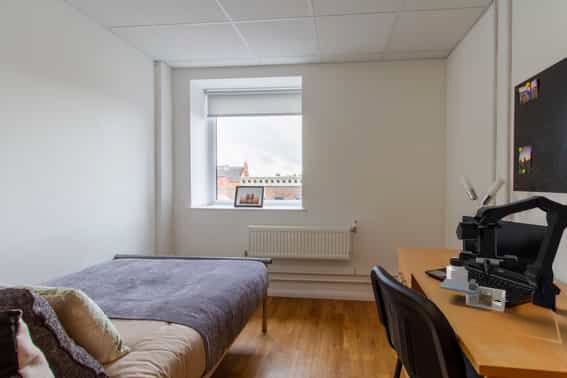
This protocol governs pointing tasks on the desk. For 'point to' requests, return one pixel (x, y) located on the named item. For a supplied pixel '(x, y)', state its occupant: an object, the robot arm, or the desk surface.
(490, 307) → the box
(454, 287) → the slate lid
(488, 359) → the desk surface
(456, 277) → the medicine bottle
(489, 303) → the letter cube
